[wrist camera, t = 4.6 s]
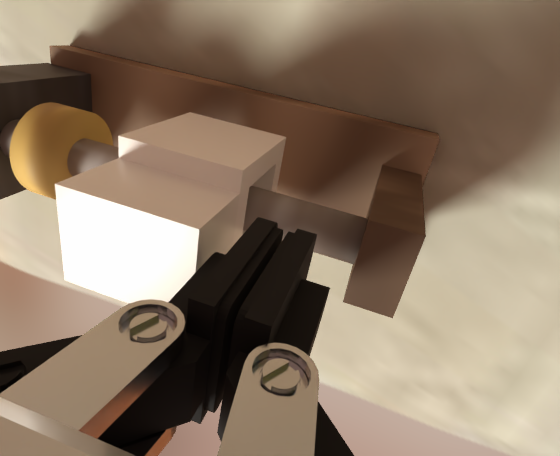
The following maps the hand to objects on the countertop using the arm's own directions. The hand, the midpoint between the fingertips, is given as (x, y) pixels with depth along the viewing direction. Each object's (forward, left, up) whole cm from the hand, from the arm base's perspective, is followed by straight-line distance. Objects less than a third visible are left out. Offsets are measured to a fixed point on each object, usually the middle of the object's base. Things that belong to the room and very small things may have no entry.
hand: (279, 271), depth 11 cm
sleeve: (+4, 0, -5) cm, 6 cm away
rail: (+5, 0, -9) cm, 10 cm away
